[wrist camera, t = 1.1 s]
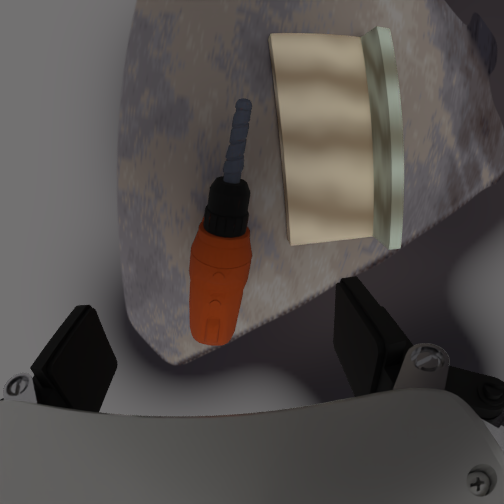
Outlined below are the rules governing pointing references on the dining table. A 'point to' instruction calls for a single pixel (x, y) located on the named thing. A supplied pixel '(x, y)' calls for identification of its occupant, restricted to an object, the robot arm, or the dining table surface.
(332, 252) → the dining table surface
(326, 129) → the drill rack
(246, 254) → the toy drill
